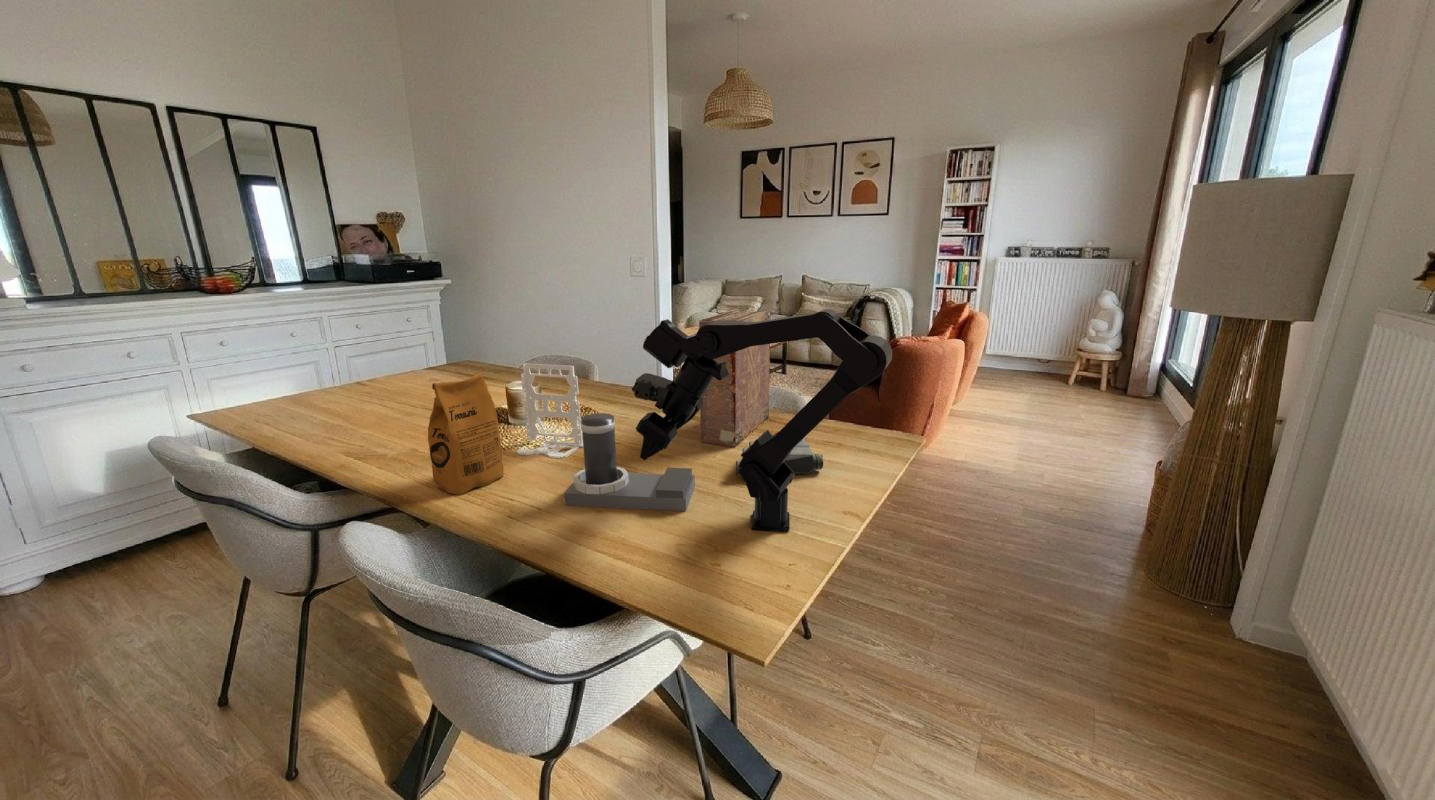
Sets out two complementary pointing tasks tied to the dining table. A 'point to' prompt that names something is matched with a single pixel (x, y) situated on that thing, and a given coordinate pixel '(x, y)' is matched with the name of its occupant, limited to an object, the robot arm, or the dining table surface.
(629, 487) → the grey stepped base
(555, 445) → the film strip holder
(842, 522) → the dining table surface
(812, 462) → the camcorder
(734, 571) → the dining table surface
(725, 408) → the book
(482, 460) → the coffee package
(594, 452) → the dark grey cylinder
